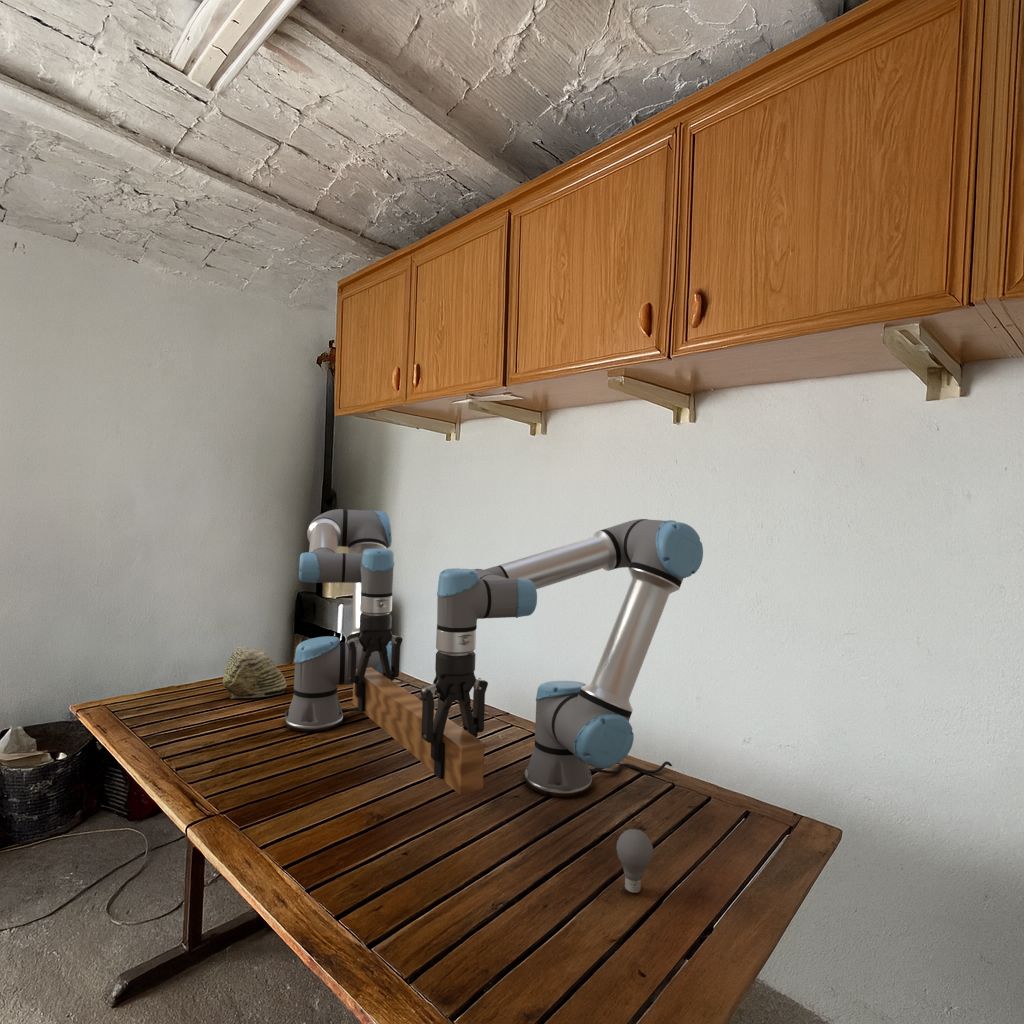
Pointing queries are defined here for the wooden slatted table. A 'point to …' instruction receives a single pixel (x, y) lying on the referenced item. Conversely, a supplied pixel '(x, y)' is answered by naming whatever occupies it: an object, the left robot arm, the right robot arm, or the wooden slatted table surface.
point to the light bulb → (634, 857)
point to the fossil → (252, 674)
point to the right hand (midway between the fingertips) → (451, 772)
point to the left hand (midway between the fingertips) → (372, 708)
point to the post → (404, 724)
